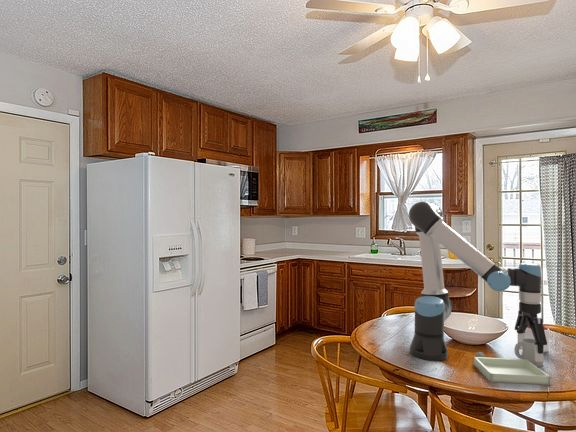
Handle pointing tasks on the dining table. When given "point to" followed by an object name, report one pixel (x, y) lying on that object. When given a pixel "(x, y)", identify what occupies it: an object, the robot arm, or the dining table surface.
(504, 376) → the tray
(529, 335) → the cup
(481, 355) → the mixing ball
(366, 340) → the dining table surface
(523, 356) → the cup
